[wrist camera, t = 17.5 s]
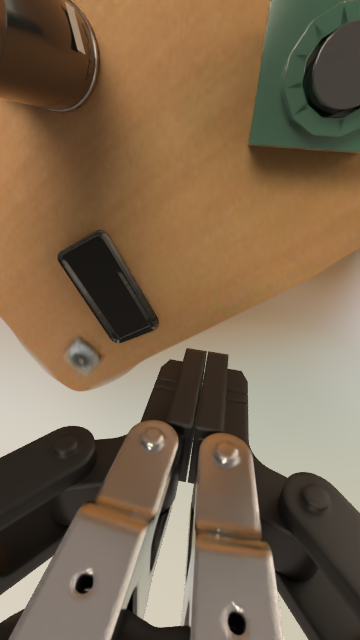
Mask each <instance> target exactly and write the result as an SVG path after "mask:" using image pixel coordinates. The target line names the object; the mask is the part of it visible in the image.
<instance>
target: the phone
mask: <svg viewBox="0 0 360 640" xmlns="http://www.w3.org/2000/svg"><path fill="white" fill-rule="evenodd" d="M58 261H59V263H60V264H61V266H62V267H63V269H64V270H65V272H66V273H67V275H68V276H69V278H70V279H71V281H72V282H73V284H74V285H75V287H76V288H77V290H78V291H79V293H80V294H81V296H82V297H83V299H84V300H85V302H86V303H87V304H88V306H89V307H90V309H91V310H92V312H93V313H94V315H95V316H96V318H97V319H98V321H99V322H100V324H101V325H102V327H103V328H104V330H105V331H106V333H107V334H108V336H109V337H110V339H111V340H112V341H113V342H115V343H122V342H124V341H127V340H130V339H132V338H135V337H137V336H140V335H143V334H145V333H148V332H150V331H153V330H154V329H155V328H156V326H157V324H158V319H157V317H156V315H155V313H154V311H153V310H152V308H151V306H150V305H149V303H148V301H147V300H146V298H145V296H144V295H143V293H142V291H141V289H140V288H139V286H138V284H137V283H136V281H135V279H134V278H133V276H132V274H131V272H130V271H129V269H128V267H127V266H126V264H125V262H124V261H123V259H122V257H121V256H120V254H119V252H118V250H117V249H116V247H115V245H114V244H113V242H112V240H111V239H110V237H109V235H108V234H107V233H106V232H104V231H101V230H99V231H96V232H94V233H93V234H91V235H89V236H87V237H86V238H84V239H82V240H80V241H78V242H77V243H75V244H73V245H71V246H70V247H68V248H66V249H64V250H62V251H61V252H60V253H59V254H58Z"/></svg>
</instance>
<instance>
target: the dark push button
mask: <svg viewBox="0 0 360 640" xmlns="http://www.w3.org/2000/svg"><path fill="white" fill-rule="evenodd" d="M307 90H308V94H309V97H310V99H311V101H312V103H313V104H314V105H315V106H316V107H317V108H318V109H320V110H322V111H324V112H327V113H339V112H343V111H346V110H348V109H351V108H354V107H356V106H358V105H360V20H356V21H352V22H349V23H347V24H345V25H343V26H341V27H340V28H338V29H337V30H336V31H335V32H333V33H332V34H331V35H330V37H329V38H328V39H327V40H326V41H325V43H324V44H323V45H322V47H321V48H320V49H319V51H318V52H317V53H316V55H315V57H314V58H313V60H312V62H311V65H310V67H309V71H308V75H307Z"/></svg>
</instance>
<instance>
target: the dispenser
mask: <svg viewBox="0 0 360 640" xmlns="http://www.w3.org/2000/svg"><path fill="white" fill-rule="evenodd" d="M356 20H360V0H270V4H269V9H268V15H267V21H266V27H265V33H264V40H263V46H262V53H261V59H260V66H259V73H258V79H257V86H256V93H255V99H254V106H253V113H252V119H251V126H250V133H249V139H248V145H251V146H264V147H277V148H291V149H304V150H317V151H330V152H343V153H357V154H360V105H358V106H356V107H354V108H351V109H348V110H346V111H343V112H339V113H327V112H324V111H322V110H320V109H318V108H317V107H316V106H315V105H314V104H313V103H312V101H311V99H310V97H309V94H308V90H307V75H308V71H309V67H310V65H311V62H312V60H313V58H314V57H315V55H316V53H317V52H318V51H319V49H320V48H321V47H322V45H323V44H324V43H325V41H326V40H327V39H328V38H329V37H330V35H331V34H332V33H333V32H335V31H336V30H337V29H338V28H340V27H341V26H343V25H345V24H347V23H349V22H352V21H356Z"/></svg>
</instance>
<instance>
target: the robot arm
mask: <svg viewBox="0 0 360 640" xmlns="http://www.w3.org/2000/svg"><path fill="white" fill-rule="evenodd" d="M98 70H99V55H98V47H97V43H96V39H95V36H94V33H93V30H92V28H91V26H90V24H89V22H88V20H87V19H86V17H85V16H84V14H83V13H82V12H81V10H80V9H79V8H78V7H77V6H76V5H75V4H74V3H73V2H71V1H70V0H0V98H1V99H6V100H10V101H15V102H20V103H24V104H29V105H34V106H38V107H43V108H46V109H48V110H52V111H57V112H68V111H72V110H74V109H76V108H78V107H80V106H81V105H82V104H83V103H84V102H86V100H87V99H88V98H89V96H90V95H91V93H92V91H93V89H94V87H95V84H96V81H97V76H98ZM206 352H207V351H201V350H195V349H189V348H187V349H186V353H185V356H184V359H183V362H182V361H176V360H169V361H168V362H167V363H166V364H165V365H163V366H162V367H161V370H160V372H159V375H158V377H157V380H156V383H155V385H154V388H153V391H152V393H151V396H150V398H149V401H148V404H147V406H146V409H145V412H144V414H143V417H142V420H141V422H140V423H138V424H137V425H135V426H134V427H133V428H132V429H131V430H130V431H129V433H128V434H127V435H124V436H121V437H118V438H112V439H100V440H94V437H93V435H92V433H91V432H90V431H88V430H87V429H85V428H83V427H79V426H68V427H63V428H60V429H57V430H55V431H53V432H51V433H49V434H47V435H45V436H43V437H41V438H39V439H37V440H35V441H33V442H31V443H29V444H27V445H25V446H23V447H21V448H19V449H17V450H15V451H13V452H11V453H9V454H7V455H5V456H3V457H1V458H0V595H1V594H2V593H3V592H5V591H6V590H8V589H9V588H11V587H12V586H13V585H15V584H16V583H17V582H19V581H20V580H21V579H23V578H24V577H25V576H27V575H28V574H29V573H30V572H32V571H33V570H35V569H36V568H37V567H39V566H40V565H41V564H43V563H44V562H45V561H46V560H48V559H49V558H51V557H52V556H53V558H52V560H51V561H50V563H49V565H48V567H47V569H46V571H45V572H44V574H43V576H42V578H41V580H40V582H39V584H38V586H37V587H36V589H35V591H34V593H33V595H32V597H31V598H30V600H29V602H28V604H27V606H26V608H25V609H23V610H21V611H20V612H18V613H16V614H14V615H12V616H10V617H9V618H7V619H6V620H4V621H3V622H1V623H0V640H284V636H283V628H282V621H281V614H280V607H279V600H278V592H279V594H280V595H281V597H282V598H283V600H284V602H285V603H286V605H287V606H288V608H289V609H290V611H291V613H292V614H293V616H294V617H295V619H296V621H297V622H298V624H299V625H300V627H301V628H302V630H303V632H304V633H305V635H306V636H307V638H308V639H309V640H360V513H359V512H358V511H357V510H356V509H355V508H354V507H353V506H352V505H351V504H350V503H349V502H348V501H347V500H346V499H345V498H344V496H343V495H342V494H341V493H340V492H339V491H338V490H337V489H336V488H335V487H334V486H332V484H330V483H329V482H328V481H326V480H325V479H323V478H322V477H320V476H317V475H315V474H312V473H306V472H300V473H295V474H292V475H291V476H289V477H288V478H287V477H285V476H283V475H281V474H279V473H277V472H275V471H273V470H271V469H269V468H267V467H266V466H265V465H263V464H262V463H261V462H260V461H259V460H258V459H257V458H256V457H255V456H254V454H253V453H252V451H251V449H250V446H249V440H248V394H247V393H248V382H247V380H246V378H245V376H244V375H243V373H242V371H237V370H231V369H227V367H228V355H227V354H221V353H215V352H208V357H207V362H206V368H205V361H206ZM204 368H205V373H204ZM203 375H204V379H203ZM202 383H203V385H202ZM193 437H194V439H193ZM192 443H193V447H192ZM191 448H192V454H191ZM190 454H191V462H190V470H189V477H188V482H189V483H193V484H194V488H193V495H192V503H191V509H190V520H189V533H188V546H187V561H186V574H185V588H184V598H183V608H182V617H181V626H175V627H163V628H158V627H154V626H152V625H150V624H149V623H147V622H146V621H144V620H143V618H144V614H145V610H146V605H147V600H148V596H149V590H150V586H151V581H152V577H153V573H154V570H155V566H156V563H157V559H158V556H159V552H160V548H161V545H162V541H163V538H164V534H165V531H166V527H167V523H168V520H169V516H170V513H171V509H172V504H173V501H174V499H175V495H176V491H177V486H178V481H183V482H186V476H187V470H188V465H189V459H190ZM277 590H278V592H277Z"/></svg>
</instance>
